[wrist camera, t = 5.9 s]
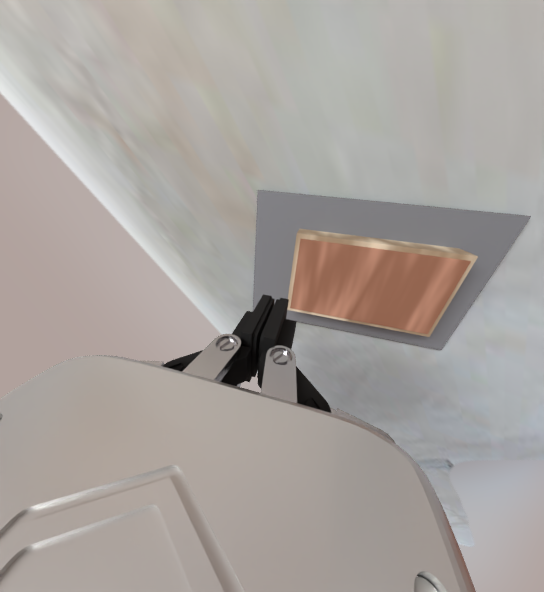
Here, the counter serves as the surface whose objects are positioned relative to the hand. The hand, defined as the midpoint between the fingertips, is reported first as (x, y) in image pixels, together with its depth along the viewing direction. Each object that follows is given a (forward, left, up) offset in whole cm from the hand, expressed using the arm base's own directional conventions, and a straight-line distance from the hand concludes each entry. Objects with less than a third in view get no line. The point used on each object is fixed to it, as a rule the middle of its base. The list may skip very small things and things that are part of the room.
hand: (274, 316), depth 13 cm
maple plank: (0, 0, -9) cm, 9 cm away
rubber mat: (-7, 0, -10) cm, 12 cm away
